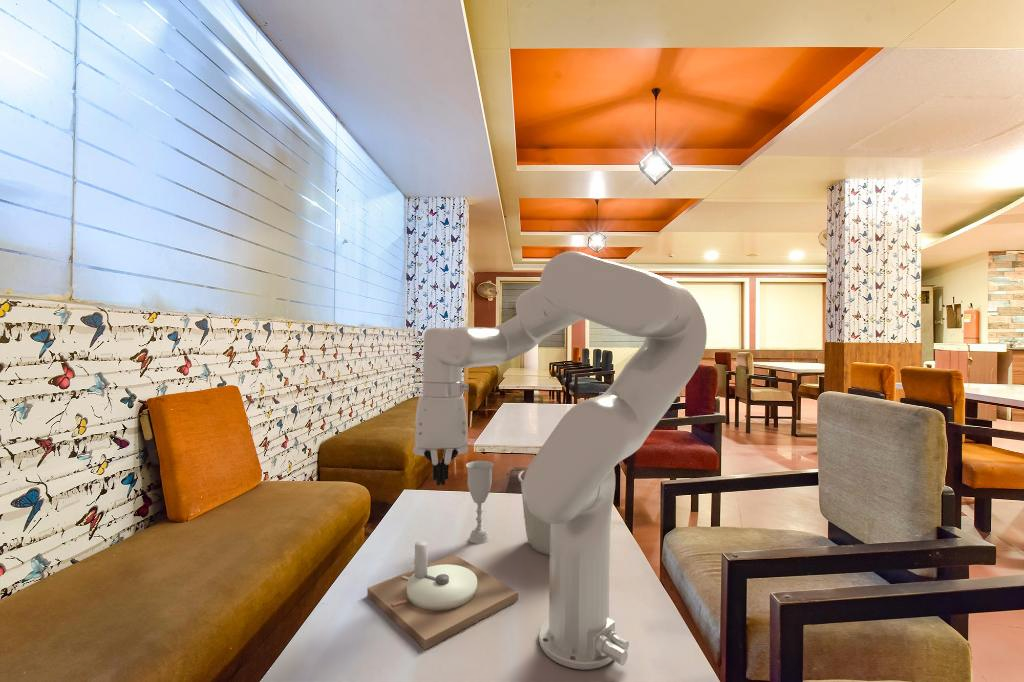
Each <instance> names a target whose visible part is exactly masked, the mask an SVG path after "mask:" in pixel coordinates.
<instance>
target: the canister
mask: <svg viewBox="0 0 1024 682" xmlns="http://www.w3.org/2000/svg"><path fill="white" fill-rule="evenodd" d="M527 469H528V467H527V468H525V469H523V470H521V471H520V472H519V473H518V476H517V478H518V480H519V482H520V487H521V495H522V496H521V497H522V509H523V518H524V527H525V534H526V539H527V541H528V543H529V545H530V546H531V547H532V549H534V550H535V551H536V552H538V553H541V554H543V555H546V556H550V527H551V524H549V523H546V522H543V521H541V520H539V519H537V518H536V517H535V516H534V515H533V514H532V513H531V512H530V511H529V509H528V507H527V506H526V503H525V500H524V496H523V481H524V477H525V474H526V471H527Z"/></svg>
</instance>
